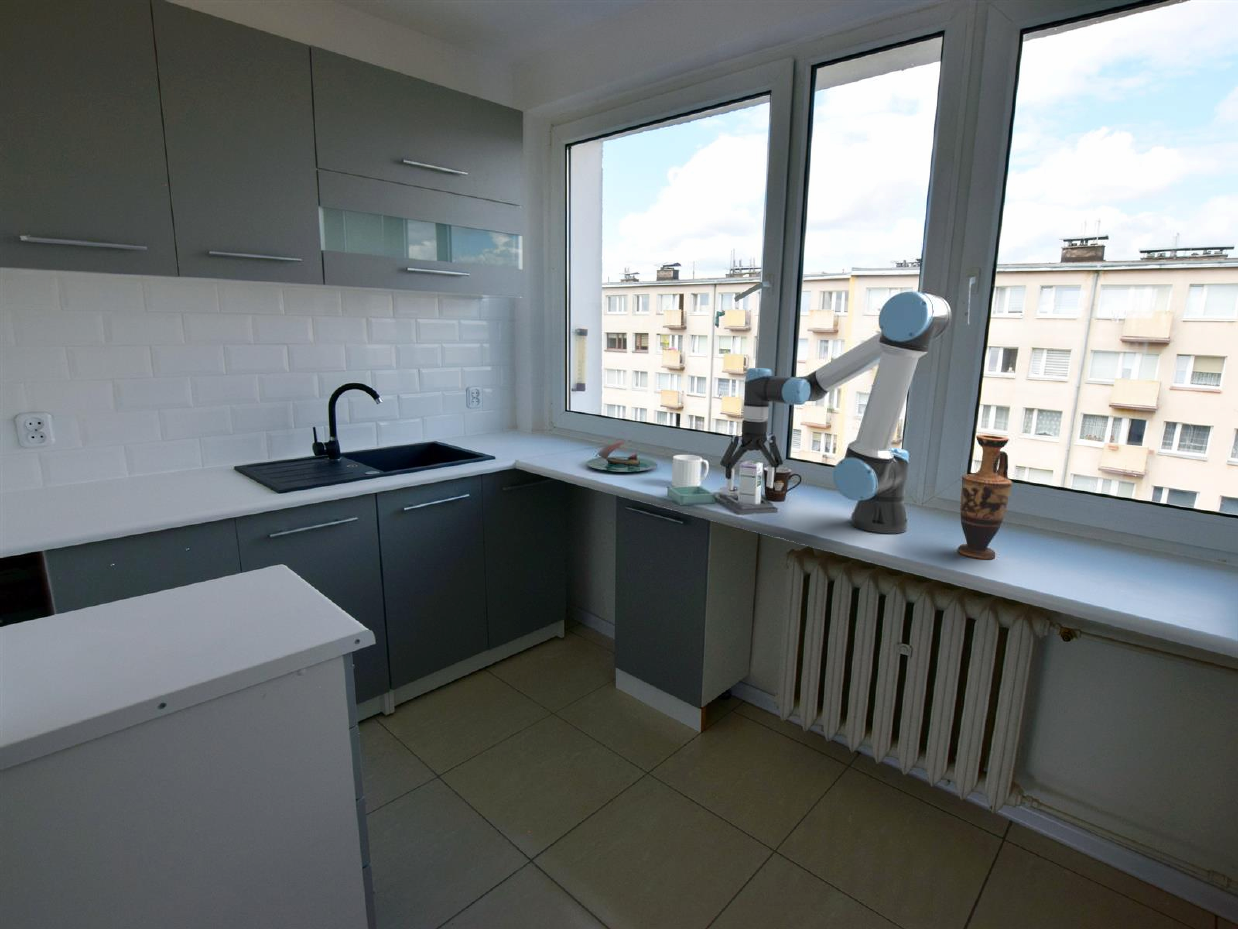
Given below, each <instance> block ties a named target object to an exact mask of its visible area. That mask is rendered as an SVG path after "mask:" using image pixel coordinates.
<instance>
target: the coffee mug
mask: <svg viewBox="0 0 1238 929" xmlns="http://www.w3.org/2000/svg"><path fill="white" fill-rule="evenodd" d="M767 471H768V466H767V467H765V466H764V467H763V480H764V481H763V482H764V484H763V486H764V500H766V501H768V502H773V503H781V502H785V501H786V497H787V494H788V492H790V491H792V490H794V489H795V488H797V487H798V486H799V485H800V484H801V483H802V476H801V475H800V474H797V473H793V474H791V472H792V470H791V469H789V468H786V467H781V466H780V467H778V468H777V470H776V477H774V480H773V488H769V487H767V486H766V484H767ZM794 476H797V477H798V478H799V481H798V482H797V483H796V484H795V485H793V486H792V487H789V481H790V480H791V479H792V478H793V477H794ZM788 487H789V488H788Z"/></svg>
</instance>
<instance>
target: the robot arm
mask: <svg viewBox="0 0 1238 929" xmlns="http://www.w3.org/2000/svg"><path fill="white" fill-rule="evenodd" d="M952 317H953V316H952V309H951V306H950V305H949V303H948V302H947V300H945V299H944V298H943V297H941V296H940V295H937V294H932V293H925V292H920V291H913V290H911V291H904V292H900V293H897V294H895V295H893V296H892V297H890V298H889V299H888V300H887V301H886V302H885V303H884V304H883V306H882V307H881V310H880V312H879V314H878V326H879V329H880V332H878V333H877V334H875V335H873V336H871V337H870V338H868V339H867V340H865V341H863V342H861V343H860V344H858V345H856V346H855V347H853V348H851V349H850V350H848V351H846V352H844V353H842V354H841V355H839V356H838V357H836V358H834V359H833V360H831V361H829V362H828V363H826V364H824V365H823V366H821V367H819V368H817V369H816V370H814V371H813V372H810V373H809V374H807V375H804V376H790V377H789V376H788V377H787V376H775V375H772V373H773V372H772V369H770V368H765V367H750V368H747V370H746V372H745V377H744V378H745V379H744V396H743V407H742V408H743V409H742V419H743V420H742V422H741V435H740V436H737V435H732V436H731V437H730V438H731V439H730V443H729V445H728V447H727V449H726V451H725V453H724V454H723V456H722V459H721V461H720V462H719V465H720V466H721V467H724V468H725V479H727V481H726V482H727V483H726V487H727V488H728V489H730V490H733V486H735V485H734V483H735V468H734V466H735V465H736V464H737V463H738V461H739V460H740V459H741V458H742V457H743V456H744V454H745V453H748V451H751V452H752V451H757V452H758V451H760V453H761V454H762V455H763V456H764V459H766V461H767V463H769V465H767V467H768V471H767V484H766V486H767V487H769V488H773V480H774V477H776V470H777V468H778V467H779V466H781V465H783V464H784V462H783V459H782V456H781V453H780V450H779V448H778V446H777V441H776V440H777V439H776V438H777V437H776V435H773V434H768V435H767V433H768V423H769V422H768V421H767V420H768V419H769V407H770V403H777V404H778V403H780V404H786V405H790V406H795V405H796V406H801V405H804V404H806V402H817V401H819V400H822V399H824V398H825V397H826V396H827V395H828V393H829V392H831V391H833V390H835V389H836V388H838V387H840V386H842V385H844V384H846V383H847V382H849V381H851V380H853V379H855V378H857V377H859V376H860V375H863V374H864V373H865V372H868V371H869V370H872V369H874V368H875V367H877V369H876V372H875V375H874V379H873V382H872V386H871V389H870V392H869V396H868V397H867V398H868V399H867V401H866V405H865V408H864V413H863V415H862V418H861V422H860V426H859V428H858V432H857V435H856V437H855V439H854V440H852V441H851V442H849V443H848V444H847V448H846V451H845V455H844V458H843V459H841V460H839V461H838V462H837V464H836V465H835V466H834V468H833V470H832V481H833V484H834V486H835V488H836V489H837V491H838V492H839V494H840V495H841V496H843V497H844V498H846V499H848V500H852V501H857V502H856V504H855V507H854V509H853V511H852V513H851V514H850V524H851V525H852V526H853V527H855V528H857V529H860V530H862V531H863V530H864V531H868V532H873V533H877V534H878V533H879V534H887V535H888V534H902V533H905V532H907V530H908V519H907V513H906V509H905V508H906V507H905V504H904V501H905V492H906V491H905V490H906V484H907V477H908V469H909V468H908V467H909V464H910V462H909V457H910V455H909V452H908V450H906V449H902V448H897V447H891V446H892V442H893V439H894V437H895V434H896V433H895V432H896V429H897V427H898V424H899V421H900V418H901V415H902V411H903V408H904V405H905V402H906V398H907V396H908V393H909V389H910V387H911V382H912V380H913V377H914V373H915V371H916V368H917V364H918V362H919V359H920V358H921V357H923V356H924V355H926V354H928V352H929V350H930V346H931V343H932V341H934V340H936V339H938V338H939V337H941V336H942V335H943V334H945V333H946V331H947V330H948V328H949V327H950V325H951V323H952V322H951V321H952ZM740 442H741V444H740ZM766 442H767V443H768V446H769V448H770V450H771V453H772V454H771V453H770V451H769V450H768V447H767V446H766V445H765V444H766ZM739 444H740V445H739ZM738 445H739V446H738ZM737 448H738V449H737ZM736 449H737V450H736Z"/></svg>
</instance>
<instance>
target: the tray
mask: <svg viewBox="0 0 1238 929" xmlns="http://www.w3.org/2000/svg"><path fill="white" fill-rule="evenodd" d="M666 493H667V494H666V496H667V497H668V498H670V500H673V502H675V503H677V504H678V505H680V506H693V505H694V506H695V505H696V506H697V505H712V504H716V503H715V502H716V501H715V494H714V493H713V492H712V491H710V490H709V489H707V488H704V487H703V486H702V485H701V486H684V487H673V486H672V487H671V486H667V492H666Z"/></svg>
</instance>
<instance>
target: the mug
mask: <svg viewBox="0 0 1238 929" xmlns="http://www.w3.org/2000/svg"><path fill="white" fill-rule="evenodd" d="M702 463H704V464H705V470H704V474H703V475H702V467H703V466H702V465H703V464H702ZM709 465H710V464H709V461H708V460H706V459H703V458H702V457H701V456H699V455H692V454H677V455H673V457H672V472H671V473H672V476H671V486H672V487H684V486H702V485H701V483H702V481H703V480H704V479H705V478H707V475H708V473H709V468H710V466H709Z"/></svg>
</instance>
